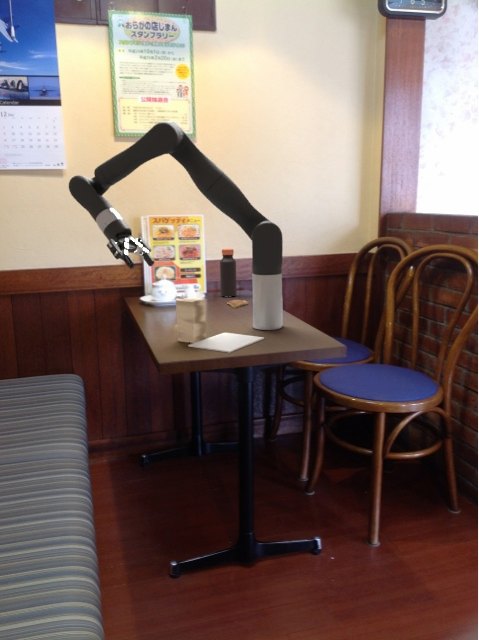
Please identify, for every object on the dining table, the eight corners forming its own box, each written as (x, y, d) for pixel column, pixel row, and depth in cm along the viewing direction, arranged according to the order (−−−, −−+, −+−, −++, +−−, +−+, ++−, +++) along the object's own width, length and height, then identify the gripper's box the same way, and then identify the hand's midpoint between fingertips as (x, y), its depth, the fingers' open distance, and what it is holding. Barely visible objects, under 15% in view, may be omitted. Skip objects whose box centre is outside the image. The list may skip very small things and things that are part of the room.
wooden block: (189, 336, 171) (188, 297, 169) (206, 338, 168) (205, 298, 165) (177, 340, 166) (175, 300, 164) (193, 343, 163) (192, 301, 160)
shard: (235, 309, 215) (235, 305, 215) (218, 308, 219) (218, 303, 219) (249, 305, 225) (249, 300, 224) (232, 303, 228) (232, 299, 228)
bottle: (239, 296, 243) (238, 249, 239) (225, 298, 239) (224, 250, 235) (231, 294, 248) (230, 248, 244) (217, 296, 245) (216, 249, 241)
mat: (224, 333, 174) (224, 332, 174) (264, 338, 166) (264, 337, 166) (188, 346, 159) (188, 345, 159) (229, 352, 151) (229, 351, 151)
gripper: (102, 218, 168) (133, 259, 164) (135, 217, 179) (164, 255, 176) (90, 236, 171) (120, 276, 168) (123, 234, 183) (152, 271, 180)
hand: (143, 265), depth 172 cm, fingers open, 8 cm apart
